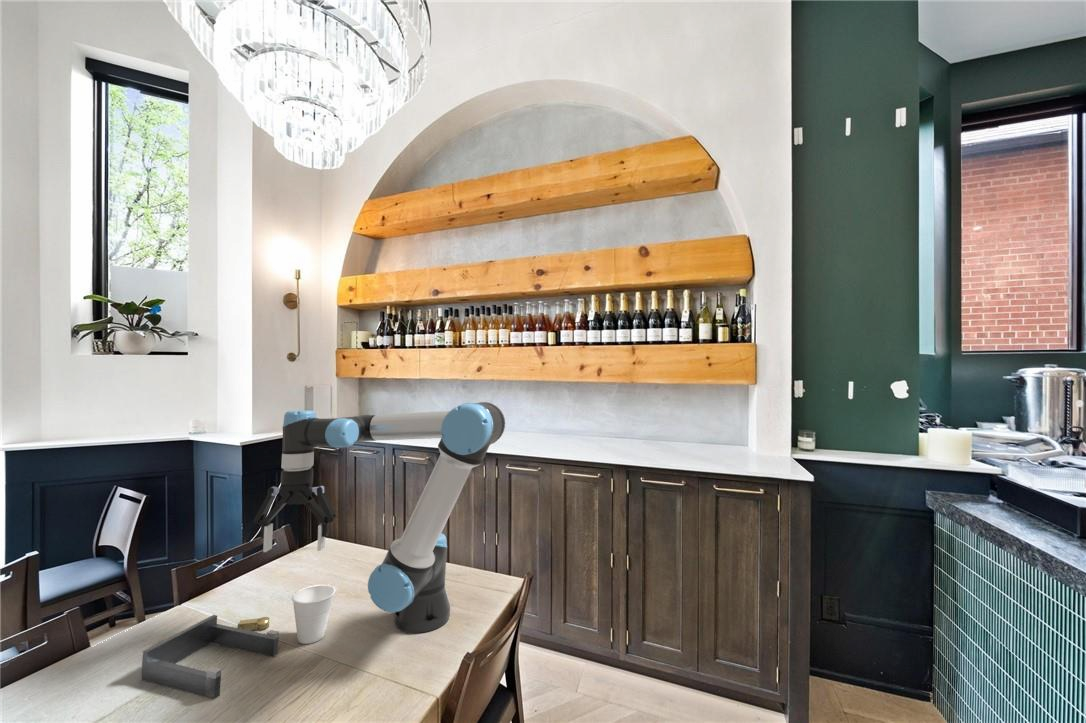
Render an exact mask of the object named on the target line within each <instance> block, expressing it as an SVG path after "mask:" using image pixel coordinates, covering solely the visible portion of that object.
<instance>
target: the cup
mask: <svg viewBox="0 0 1086 723" xmlns="http://www.w3.org/2000/svg"><path fill="white" fill-rule="evenodd" d="M335 593H336V588H335V587H334V586H333V585H329V584H314V585H310V586H307V587H306V586H305V587H304V588H301V589H299V590H297V591H296V592H294V593H293V595H292V596H291V600H292V602H293V603H292V604H293V612H294V619H295V626H296V627H295V628H296V635H297V636H296V637H297V642H299V643H301V644H302V645H310V644H314V643H317V642H319V641H320V640H322V639H323V638H324V636H325V634H326V631H327V626H328V623H329V622H328V621H329V617H330V613H331V609H332V604H333V599H334V597H335V596H334V595H335Z"/></svg>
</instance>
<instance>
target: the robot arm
mask: <svg viewBox="0 0 1086 723" xmlns="http://www.w3.org/2000/svg"><path fill="white" fill-rule="evenodd" d="M281 427H282V451H281V452H282V453H281V465H280V466H281V467H280V468H281V469H282V471H281V473H280V485H281V486H280V487H277V485H274V486H271V487H269V488H267V492H266V496H265V499H264V500H263V503H262V504H261V506H260V507H259V509H258V511H257V513H256V515H255V516H254V519H253V520H252V522H253V524H254V525H255V524H256V525H257V524H258V525H260V538H261V539H263V547H262V552H263V553H268V551H270V550H272V549H273V533H274V532H273V531H274V523H273V522H272V523H271V521H272V520H273V519H274V518H275V517H276V516H277V515H278V514H279V512H280V511H281V510H282V509H284V507H285V506H286V505H287V504H288V505H289V506H292V505H298V506H299V505H302V504H303V505H304V507H307V508H308V509H309V512H311V513H312V515H314V517H315V518H316V519H317V520H318V521H319V523H320V524H319V525H318V526H317V548H316V550H317V552H321V551H322V550H323V549H325V547H326V537H327V536H328V535H329V532H330V523H333V522H334V521H335V520H337V519H338V516H337V515H336V512H335V510H334V508H333V505H332V504H331V502H330V499H329V498H328V496H327V495H328V494H326V486H325V485H320V486H314V468H313V466H314V461H315V459H314V458H315V448H317V447H321V448H322V447H323V448H335V449H342V448H350V447H352V446H353V445H354V444H355V443H360V442H374V441H375V442H376V441H394V440H395V441H397V440H398V441H399V440H424V439H425V440H426V439H427V440H428V439H429V440H431V439H432V440H433V439H440V441H439V443H438V445H437V448H438V450H439V453H440V454H439V457H438V459H437V460H436V463H435V465H434V468H433V470H432V471H431V474H430V476H429V478H428V479H427V483H426V484H425V485H424V489H423V491H422V493H421V495H420V497H419V499H418V501H417V504H416V505H415V508H414V510H413V512H412V514H411V516H410V518H409V521H408V523H407V525H406V526H405V528H404V531H403V533H402V535H401V537H399V538H397V539H394V540H393V541H392V542H391V544H390V546H389V549H388V550H387V552H386V555H385V557H384V558H383V560H382V562H381V564H379V565H377V566H376V567H375V568H374V569H373V571H371V573H370V575H369V577H368V581H367V592H368V593H369V595H370V599H371V601H372V602H373V604H374V605H375V606H376V607H377V608H379V609H380V610H382V611H384V612H387V613H394V614H393V616H394V617H393V623H394V626H395V628H397V629H398V630H401V631H402V632H405V633H410V634H411V633H413V634H419V633H427V632H431V631H434V630H437V629H439V628H440V627H443V626H444V625H446V623H447V622H448V621H449V620H450V618H449V617H451V604H450V601H449V598H448V593H447V590H446V573H447V572H446V570H447V568H446V567H447V553H448V552H447V549H448V545H447V542H448V541H447V537H446V535H445V534H444V533H443V530H444V528H445V526H446V524H447V522H448V519H449V517H450V515H451V514H452V511H453V509H454V508H455V506H456V503H457V501H458V499H459V497H460V496H461V495H460V494H461V492H462V490H463V487H464V486H465V484H466V482H467V479H468V478H469V475H470V474H471V471H472V469H474V468H476V467H478V466H480V465H481V464H482V462H483V460H484V458H485V456H486V454H487V452H488V450H489V447H490V445H493V444H495V443H496V442H497V441H498V440H500V438H501V437H502V435H504V432H505V428H506V419H505V414H504V413H503V412H502V410H501V409H500V408H499V407H498V406H497V405H495V404H493V403H490V402H486V401H485V402H483V401H482V402H465V403H462V404H459V405H457V406H455V407H453V408H452V409H451V410H442V411H425V412H405V413H388V414H387V413H386V414H383V413H382V414H363V415H355V416H344V417H343V416H342V417H335V418H334V417H332V418H317V416H316V412H315V410H310V409H309V410H306V409H303V410H300V409H299V410H288V411H286V412H285V413H284V417H283V423H282V426H281ZM313 494H314V495H316V497H317V499H318V502H319V504H320V506H319V504H318V503H317V502H316V501H315V498H314V497H313V496H312V495H313ZM277 495H280V496H281V498H280V500H279V501H278V502H277V504H276V505H275V506H274V507H273V508H272V509H271V510H270V507H271V505H272V504H273V502H274V500H275V498H276V496H277ZM269 510H270V511H269ZM268 511H269V512H268Z"/></svg>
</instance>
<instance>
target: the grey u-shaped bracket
mask: <svg viewBox="0 0 1086 723" xmlns="http://www.w3.org/2000/svg"><path fill="white" fill-rule="evenodd" d="M217 622H218V615H216V614H213V615H210V616H208V617H206V618H204V619H202V620H200V621H199V622H197V623H195V624H193V625H191V626H189V627H187V628H185V629H183V630H181V631H179V632H178V633H175V634H174V635H171V636H170V637H168V638H165V639H164V640H162V641H159V642H158V643H156V644H154V645H152V646H149V648H146V649H145V650H143V651H142V660H141V674H140V681H143V682H147V683H149V684H150V683H151V684H154V685H159V686H161V687H166V688H170V689H175V690H178V691H181V692H185V693H188V694H192V695H196V696H199V697H200V696H201V697H204V698H207V699H211V700H215V699H217V698H219V697H220V695H221V685H222V684H221V683H222V682H221V681H222V668H219V667H215V666H212V667H210V668H208V669H207V670H202V669H198V668H193V667H190V666H185V665H182V664H177V663H179V662H180V661H182V660H184V659H186V658H188V657H190V656H191V655H193V654H194V653H196V652H198V651H199V650H202V649H203V648H204V647H207V646H208V645H210V644H213V645H217V646H218V645H219V646H223V647H226V648H231V649H235V650H240V651H245V652H248V653H249V652H250V653H253V654H257V655H262V656H267V657H272V658H274V657H275V656H278V653H279V641H280V639H279V638H280V637H279V636H280V631H278V630H273V629H270V630H268V631H267V632H266V633H262V632H257V631H255V630H254V631H249V630H244V629H239V628H237V627H233V626H229V625H225V624H219V623H217Z"/></svg>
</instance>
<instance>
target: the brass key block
mask: <svg viewBox="0 0 1086 723" xmlns="http://www.w3.org/2000/svg"><path fill="white" fill-rule="evenodd" d="M269 627H270V617H269V616H264V617H260V618H251V619H241V620H239V622H238V623H237V627H236V628H239V629H244V630H249V631H254V632H255V631H266V630H267V629H269Z"/></svg>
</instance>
